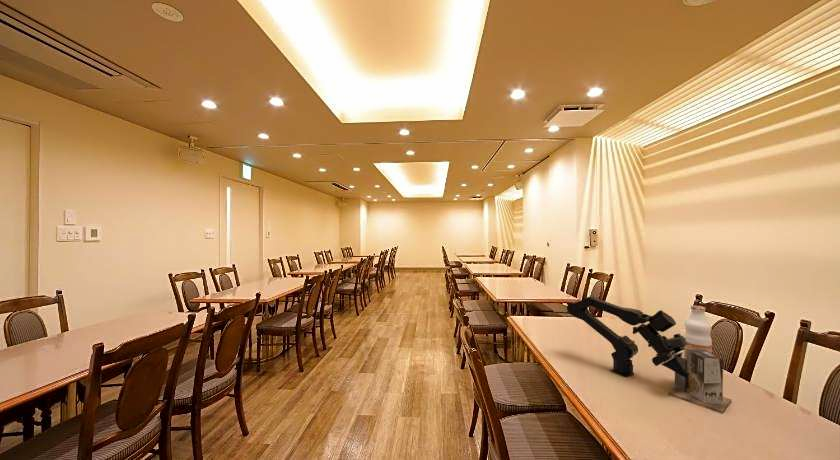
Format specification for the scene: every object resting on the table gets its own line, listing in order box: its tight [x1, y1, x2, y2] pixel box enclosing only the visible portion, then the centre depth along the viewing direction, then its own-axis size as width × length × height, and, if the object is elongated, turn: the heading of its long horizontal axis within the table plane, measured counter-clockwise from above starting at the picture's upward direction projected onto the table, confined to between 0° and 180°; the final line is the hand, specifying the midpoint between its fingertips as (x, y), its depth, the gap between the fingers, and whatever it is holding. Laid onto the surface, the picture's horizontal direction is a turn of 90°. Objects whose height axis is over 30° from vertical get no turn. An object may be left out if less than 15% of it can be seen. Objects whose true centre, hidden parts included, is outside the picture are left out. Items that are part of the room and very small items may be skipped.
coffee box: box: [686, 349, 724, 405], centre depth 117 cm, size 9×6×16 cm
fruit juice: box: [683, 305, 713, 359], centre depth 143 cm, size 9×9×28 cm
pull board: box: [668, 356, 732, 415], centre depth 118 cm, size 15×13×13 cm
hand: (687, 375), depth 121 cm, fingers closed on pull board, 3 cm apart
